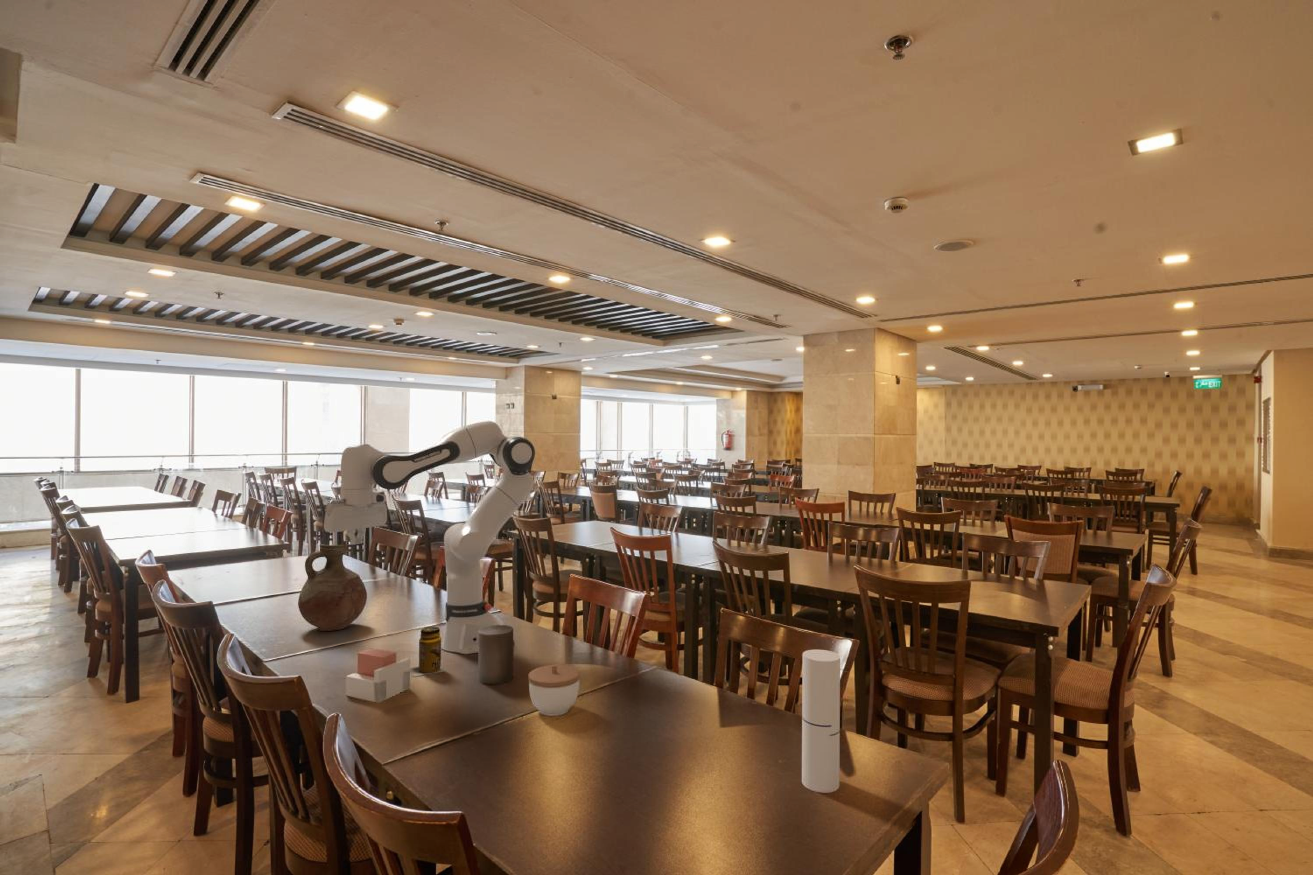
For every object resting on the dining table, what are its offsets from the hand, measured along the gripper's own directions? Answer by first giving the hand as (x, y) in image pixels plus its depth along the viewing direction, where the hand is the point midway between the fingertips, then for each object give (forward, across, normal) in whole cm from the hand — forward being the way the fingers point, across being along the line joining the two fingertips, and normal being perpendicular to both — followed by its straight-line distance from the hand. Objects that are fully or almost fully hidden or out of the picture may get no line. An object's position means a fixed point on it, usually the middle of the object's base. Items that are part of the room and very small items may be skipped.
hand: (356, 543), depth 199 cm
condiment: (+35, +3, -25) cm, 44 cm away
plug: (+35, -15, -25) cm, 46 cm away
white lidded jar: (+36, -5, -74) cm, 82 cm away
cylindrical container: (+36, -12, -141) cm, 146 cm away
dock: (+35, -15, -26) cm, 46 cm away
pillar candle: (+35, +6, -47) cm, 59 cm away
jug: (+35, +20, +35) cm, 54 cm away
